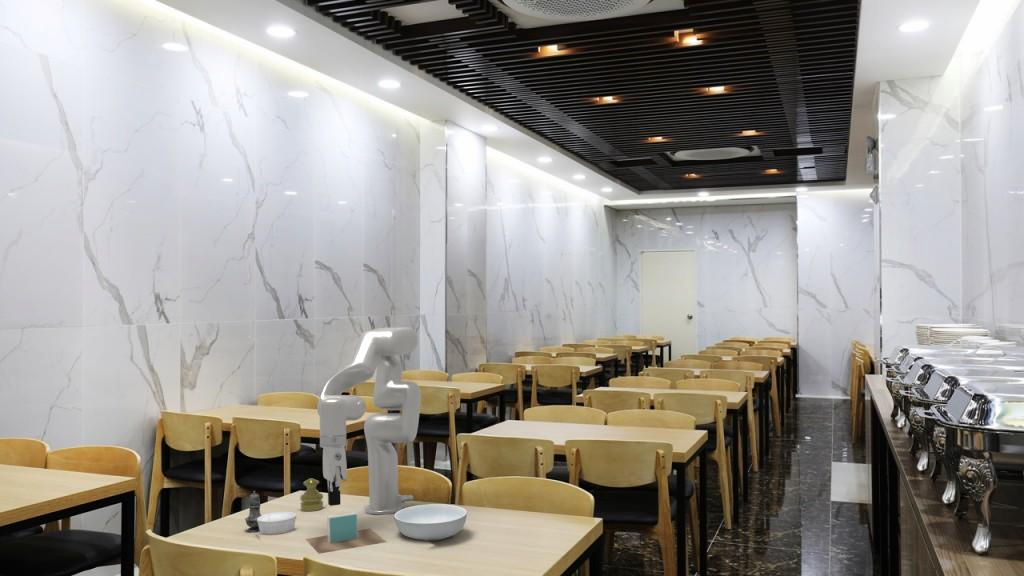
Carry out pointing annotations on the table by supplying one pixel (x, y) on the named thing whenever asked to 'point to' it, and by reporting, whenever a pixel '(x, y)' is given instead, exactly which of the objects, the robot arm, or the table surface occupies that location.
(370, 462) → the robot arm
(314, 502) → the olive chess piece
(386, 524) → the table surface
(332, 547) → the board
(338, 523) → the tile
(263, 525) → the ramekin
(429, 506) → the serving bowl
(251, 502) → the salt shaker
